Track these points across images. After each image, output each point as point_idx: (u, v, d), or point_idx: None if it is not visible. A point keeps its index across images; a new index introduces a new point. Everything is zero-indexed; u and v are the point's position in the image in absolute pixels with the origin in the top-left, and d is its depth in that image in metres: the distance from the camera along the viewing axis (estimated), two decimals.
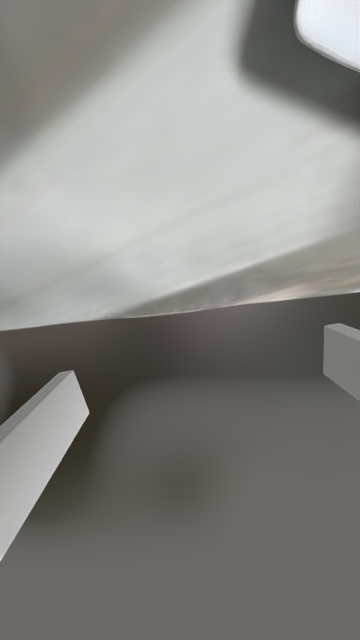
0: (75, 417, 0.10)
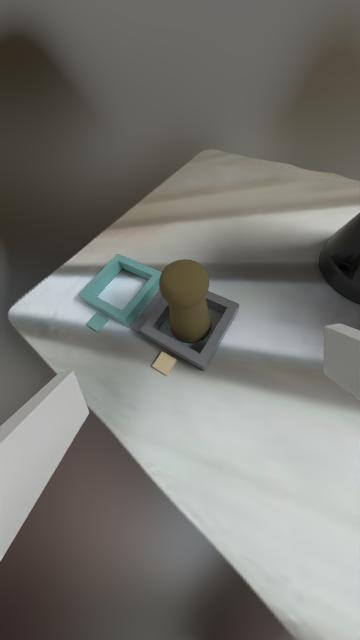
0: (75, 417, 0.10)
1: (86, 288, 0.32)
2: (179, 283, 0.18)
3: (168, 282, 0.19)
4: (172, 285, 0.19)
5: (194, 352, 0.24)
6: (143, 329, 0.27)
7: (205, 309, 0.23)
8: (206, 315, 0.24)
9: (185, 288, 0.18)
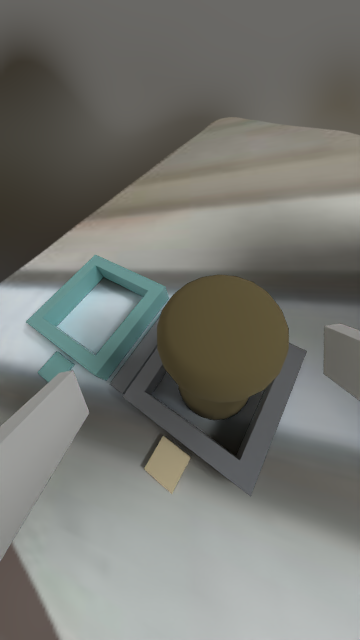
0: (75, 417, 0.10)
1: (41, 310, 0.20)
2: (216, 351, 0.06)
3: (182, 344, 0.07)
4: (194, 355, 0.06)
5: (227, 456, 0.12)
6: (129, 395, 0.15)
7: None
8: None
9: (234, 367, 0.06)
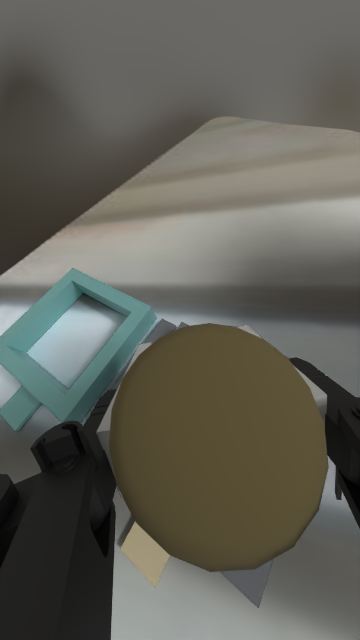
0: None
1: (5, 336, 0.17)
2: (201, 495, 0.03)
3: (142, 470, 0.04)
4: (162, 499, 0.03)
5: None
6: None
7: None
8: None
9: (235, 535, 0.03)
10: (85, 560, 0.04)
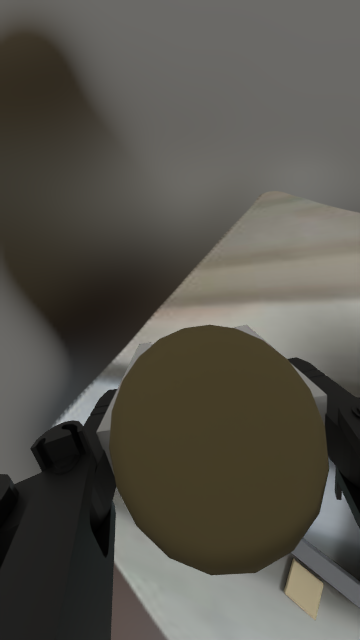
0: None
1: None
2: (201, 498, 0.03)
3: (142, 473, 0.04)
4: (162, 502, 0.03)
5: None
6: None
7: None
8: None
9: (236, 538, 0.03)
10: (85, 560, 0.04)
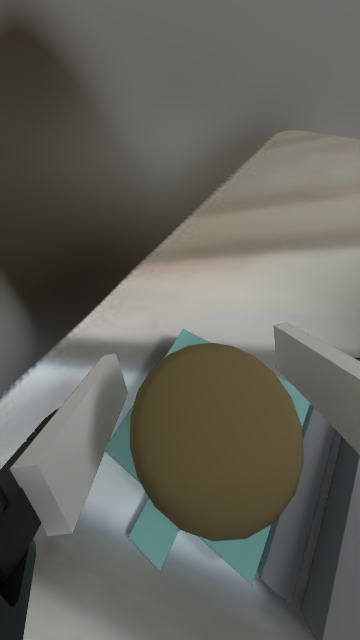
0: (119, 394, 0.11)
1: (124, 429, 0.13)
2: (205, 483, 0.04)
3: (159, 464, 0.05)
4: (175, 486, 0.04)
5: None
6: None
7: None
8: None
9: (230, 511, 0.04)
10: None
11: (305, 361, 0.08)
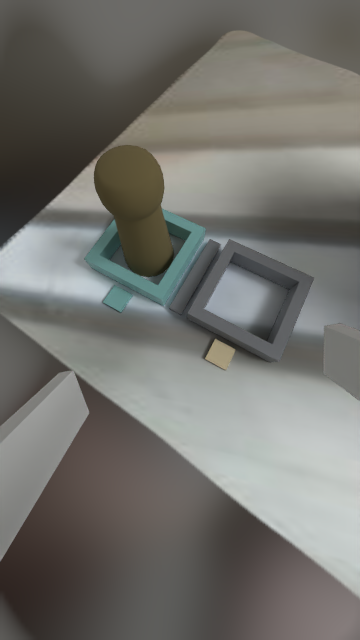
0: (75, 417, 0.10)
1: (95, 249, 0.22)
2: (120, 176, 0.13)
3: (105, 175, 0.13)
4: (110, 179, 0.13)
5: (264, 342, 0.19)
6: (192, 311, 0.20)
7: (163, 229, 0.19)
8: (165, 238, 0.20)
9: (128, 183, 0.13)
10: None
11: None
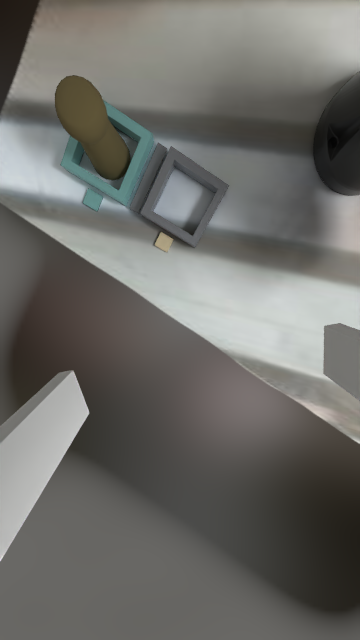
0: (75, 417, 0.10)
1: (67, 154, 0.28)
2: (74, 115, 0.20)
3: (64, 113, 0.20)
4: (68, 118, 0.20)
5: (188, 234, 0.31)
6: (143, 212, 0.30)
7: (114, 143, 0.25)
8: (118, 149, 0.26)
9: (81, 122, 0.20)
10: None
11: None
